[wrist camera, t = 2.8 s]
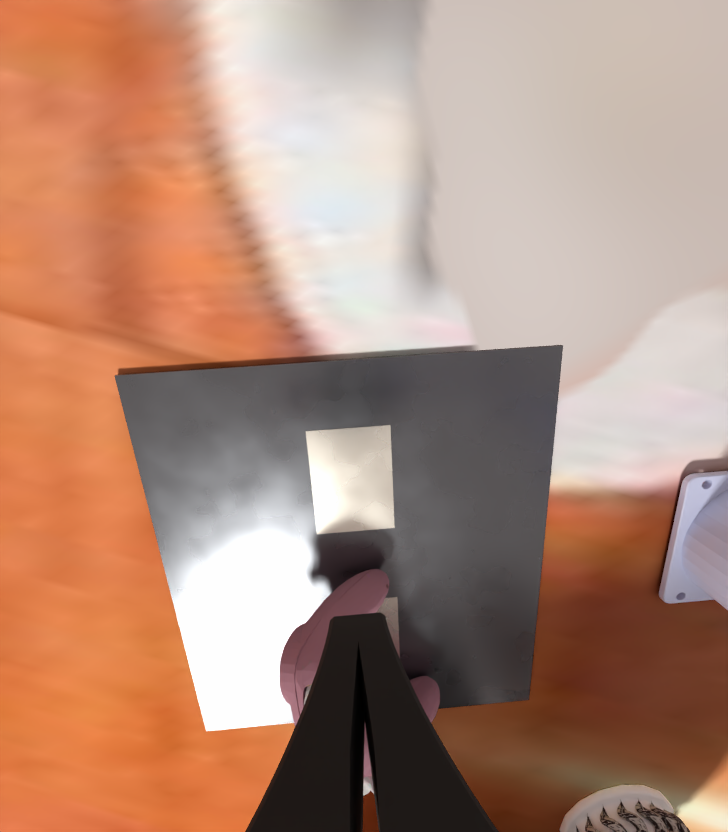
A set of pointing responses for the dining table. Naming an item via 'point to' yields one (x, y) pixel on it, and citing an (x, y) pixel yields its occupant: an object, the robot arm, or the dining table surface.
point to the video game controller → (309, 642)
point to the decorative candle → (623, 812)
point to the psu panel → (351, 512)
